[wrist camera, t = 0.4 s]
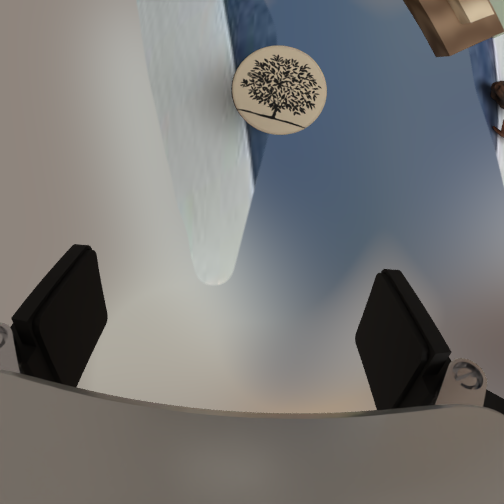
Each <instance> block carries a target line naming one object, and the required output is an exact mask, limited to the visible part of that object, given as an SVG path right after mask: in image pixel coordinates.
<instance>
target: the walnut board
mask: <svg viewBox="0 0 504 504" xmlns="http://www.w3.org/2000/svg"><path fill="white" fill-rule="evenodd" d="M403 1H404V2H405V4H406V6H407V7H408V9H409V10H410V12H411V14H412V15H413V17H414V19H415V20H416V22H417V24H418V25H419V27H420V28H421V30H422V32H423V34H424V36H425V37H426V39H427V41H428V43H429V45H430V47H431V48H432V50H433V52H434V54H435V56H436V57H443V56H451V55H453V54H455V53H458V52H460V51H462V50H464V49H466V48H468V47H471V46H473V45H475V44H477V43H479V42H482V41H484V40H486V39H489V38H491V37H493V36H496V35H498V34H500V33H503V32H504V29H503V26H502V24H501V22H500V20H499V18H498V16H497V14H496V12H495V10H494V8H493V6H492V4H491V2H490V1H489V0H487V1H488V2H489V4H490V6H491V8H492V10H493V12H494V14H493V15H490V16H487V17H485V18H482V19H479V20H477V21H474V22H471V23H466V24H461V23H460V21H459V20H458V18H457V16H456V14H455V12H454V11H453V9H452V7H451V5H450V4H449V2H448V0H403Z"/></svg>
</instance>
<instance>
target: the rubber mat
mask: <svg viewBox="0 0 504 504" xmlns="http://www.w3.org/2000/svg"><path fill="white" fill-rule="evenodd" d="M489 1H490V2H491V4H492V6H493V8H494V10H495V12H496V14H497V16H498V18H499V20H500V22H501V24H502V26H503V29H504V0H489ZM502 34H504V32H503V33H500V34H498V35H496V36H493V37H492V38H495V37H497V36H500V35H502Z"/></svg>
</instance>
